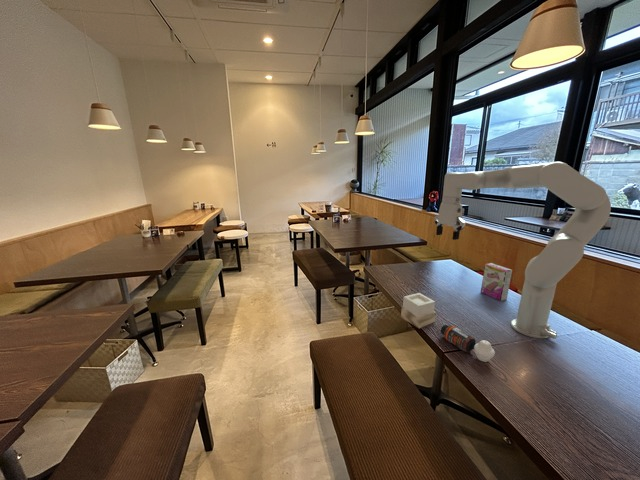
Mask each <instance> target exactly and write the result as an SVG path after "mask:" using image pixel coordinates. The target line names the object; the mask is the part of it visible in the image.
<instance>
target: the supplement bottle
mask: <svg viewBox="0 0 640 480" xmlns="http://www.w3.org/2000/svg"><path fill="white" fill-rule="evenodd" d="M440 334H442V335H443V336H444V338H445V340H446V341H448V342H449V343H451V344H452V345H454V346H455V347H457V348H458V349H460V350H462V351H463V352H465V353H470V352H472V351H473V350H474V346H475V344H476V339H475V338H474V336H472V335H469V333H466V332H465V331H462V330H461V329H460V328H457V327H455V326H454V325H450V326H449V325H447V324H444V325H443V326H441V328H440Z"/></svg>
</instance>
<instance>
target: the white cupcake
mask: <svg viewBox="0 0 640 480" xmlns="http://www.w3.org/2000/svg"><path fill="white" fill-rule="evenodd" d="M473 350H474V353H475V356H476V357H477V359H478V360H479V361H480V362H484V363H486V362H489V361H491V359H492V358H494V357H495V354H496V351H495V350H494V348H493V347H492V344H491V343H490V342H489V341H488V340H483V339H482V340H480V341H479V342H478V343H475V346H474V348H473Z"/></svg>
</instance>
